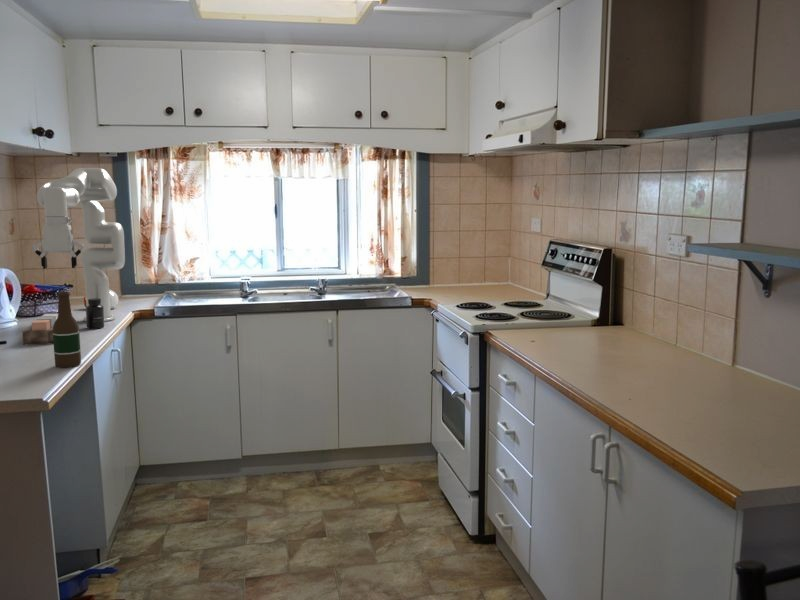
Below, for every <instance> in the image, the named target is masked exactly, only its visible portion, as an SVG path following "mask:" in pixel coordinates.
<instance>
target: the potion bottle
mask: <svg viewBox="0 0 800 600" xmlns="http://www.w3.org/2000/svg"><path fill="white" fill-rule="evenodd" d="M109 293H110V310H111V309H114V308H116V307H117V306H118V304H119V295H118V294H117V292H115V291H114V290H112V289H109ZM83 304H84V307H85V308H86V307H87V305H86V296H85V297H83Z"/></svg>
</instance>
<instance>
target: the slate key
mask: <svg viewBox="0 0 800 600" xmlns="http://www.w3.org/2000/svg"><path fill="white" fill-rule="evenodd" d="M36 320H50V327H53V326H54V323H55V319H54V317H42V316H40V317H38V318H36Z"/></svg>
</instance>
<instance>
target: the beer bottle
mask: <svg viewBox="0 0 800 600" xmlns="http://www.w3.org/2000/svg"><path fill="white" fill-rule="evenodd" d="M70 295H71V293H70V292H69V291H66V290H65V291H59V292H57V295H56V296H57V301H58V302H57V303H58V304H57V307H58V308H57V309H58V310H57V311H58V312H57V314H58V318H57V320H56V321H55V323H54V326H53V354H54V357H53V358H54V365H55V367H56V368H58V367H61V368H60V369H66V368H65V367H72V368H75V367H79V366H80V365H81V364H82V355H81V354H82V353H81V339H80V326H79V324H78V321H77V320H76V318H75V317H74V316H73V313H72V307H71V300H70ZM62 367H63V368H62Z"/></svg>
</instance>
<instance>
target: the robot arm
mask: <svg viewBox="0 0 800 600" xmlns="http://www.w3.org/2000/svg"><path fill="white" fill-rule="evenodd" d="M117 195H118V189H117V186H116V183H115V182H114V180H113V179H112V177H111V175H110V174H109V173H108V171H107V170H105V169H103V168H102V167H78V168H76V169H73V171H71V172H70V173H69V174H68V175H67V176H66V177H62V178H57V179H54V180H50V181H47V182H45V183H44V184H42V185H41V186H40V188H39V189H38V190H37V193H36V200H37V203H38V204H39V206H41V207H42V208H43V209H44V219H45V220H44V222H45V223H44V225H43V226H42V227H43V228H42V241H41V240H40V241H39V242H38V243H35V244H33V245H32V249H33V251H34V253H35V254H36V255H38V257H39V258H40V260H41V261H40V262H41V267H42V268H43V270H45V269H48V259H47V255H48V254H49V253H69V255H71V259H70V260H71V261H70V262H71V268H72V269H75V268H76V267H77V266H78V259H77V257H78V256H79V255H80V254H81V255H80V259H81V263H82V264H81V265H82V269H83V276H84V285H85V286H84V287H85V289H84V290H85V297H86V305H87V306H88V305H89V304H88V299H93V298H99V299H101V303H100V305H102V306H103V307H104V322H109V321H112V320H115V319H116V318H115V317H116V316H115V315H113V314H111V311H112V310H111V309H110V293H109V290H110V280H109V277H108V275H107V274H106V273H105V272H104V270H105V271H106V270H121V269H123V268H124V266H125V263H126V254H125V253H126V252H125V251H126V249H125V232H124V227H123V225H122V224H121V223H120V222H115V221H111V222H110V221H106V215H105V214H106V212H105V209H104V208H103V206H102V205H101V203H100V202H112V201H114V200H116V198H117ZM78 204H79V205H80V207H81V210H82V213H83V214H82V215H83V234H84V235H83V236H84V240H85V242H86V243H87V244H91V245H111V246H112V247H105V246H104V247H99V246H98V247H97V246H95V247H87V248H85V249H84V247H85V245H84V244H83V243H80V242H78V241H76V240H74V234H73V229H72V225H71V224H69V223H72V222H73V218H71V217H69V213H68V208H74V207H77V206H78ZM41 246H42V251H40V249H39V247H41ZM75 246H76V247H77V248H78V249H77V250H76V251H75ZM83 322H86V316H84V317H83Z"/></svg>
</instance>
